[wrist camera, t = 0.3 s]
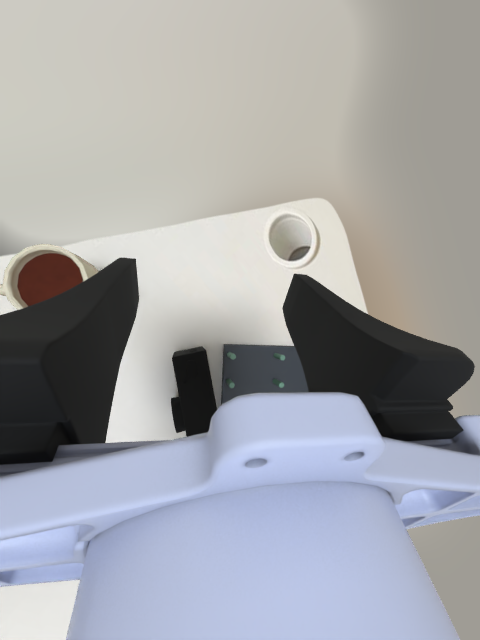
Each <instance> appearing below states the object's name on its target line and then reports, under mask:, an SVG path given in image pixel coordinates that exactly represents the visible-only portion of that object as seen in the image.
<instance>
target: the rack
mask: <svg viewBox="0 0 480 640" xmlns="http://www.w3.org/2000/svg"><path fill="white" fill-rule="evenodd" d="M298 392H309V390H308V386H307V382H306V378H305V374H304V371H303V367H302V364H301V361H300V359H299V356H298V354H297V351H296V348H295V346H266V345H233V344H224V352H223V375H222V397H221V405H222V404H223V403H225V402H227V401H229V400H231V399H233V398H235V397H237V396H241V395H247V394H253V393H298Z"/></svg>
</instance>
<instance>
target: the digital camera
mask: <svg viewBox="0 0 480 640" xmlns="http://www.w3.org/2000/svg"><path fill="white" fill-rule="evenodd" d="M172 361H173V366H174V371H175V377H176V382H177V387H178V393H179V397H175V398H171V406H172V414H173V420H174V425H175V429H176V432H177V433H179V432H182V431H186V436H187V437H188V436H192V435H197V434H202V433H206V432H208V431H209V427H210V422H211V418H212V416H213V415H214V413H215V412H216V411H217V407H216V402H215V397H214V391H213V386H212V380H211V375H210V370H209V364H208V359H207V353H206V350H205V349H204V348H203V347H197V348H192V349H187V350H182V351H177V352H174V355H173V357H172Z"/></svg>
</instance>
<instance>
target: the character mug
mask: <svg viewBox="0 0 480 640" xmlns="http://www.w3.org/2000/svg"><path fill="white" fill-rule="evenodd" d="M96 273H98V270H97V269H96V268H95V267H94V266H93V265H91V264H90V263H88V262H86V261H85V260H84V259H82V258H81V257H79V256H77V255H75V254H73V253H71V252H69V251H67V250H65V249H64V248H62V247H59V246H55V245H49V244H39V245H34V246H31V247H28V248H25V249H24V250H22V251H21V252H19V253H18V254H17V255H15V256H14V257H13V258H12V259H11V261H10V263H9V264H8V266H7V267H6V269H5V272H4V279H3V284H1V285H0V295H3V296H7V299H8V300H9V301H10V302H11V304H12V305H13V306H14V307H15V308H16V309H17V310H20V309H23V308H25V307H28V306H31V305H34V304H36V303H39V302H42V301H45V300H47V299H50V298H52V297H54V296H56V295H59V294H61V293H63V292H65V291H67V290H69V289H71V288H73V287H75V286H76V285H78V284H80V283H82V282H83V281H85V280H87V279H88V278H90V277H92V276H93V275H95V274H96Z"/></svg>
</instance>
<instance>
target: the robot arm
mask: <svg viewBox="0 0 480 640" xmlns="http://www.w3.org/2000/svg"><path fill="white" fill-rule="evenodd" d="M138 302H139V293H138V281H137V269H136V259H130V258H119V259H117V260H116V261H114V262H113V263H111V264H110V265H108V266H107V267H105V268H104V269H102V270H101V271H99V272H98V273H96V274H95V275H93V276H92V277H90V278H88V279H87V280H85V281H83V282H82V283H80V284H78V285H76V286H75V287H73V288H71V289H69V290H67V291H65V292H63V293H61V294H59V295H56V296H54V297H52V298H50V299H47V300H45V301H42V302H39V303H36V304H34V305H31V306H28V307H25V308H23V309H20V310H17V311H13V312H10V313H7V314H3V315H0V587H2V586H13V585H24V584H35V583H46V582H57V581H69V580H80V583H79V587H78V591H77V595H76V600H75V604H74V608H73V612H72V616H71V621H70V625H69V629H68V633H67V637H66V640H460V638H459V636H458V634H457V632H456V630H455V628H454V626H453V624H452V622H451V620H450V618H449V616H448V614H447V612H446V610H445V607H444V605H443V603H442V601H441V599H440V597H439V596H438V593H437V591H436V589H435V587H434V585H433V583H432V581H431V579H430V577H429V575H428V573H427V571H426V569H425V567H424V565H423V563H422V560H421V558H420V556H419V554H418V552H417V550H416V548H415V546H414V544H413V542H412V540H411V538H410V536H409V534H408V532H407V530H406V529H409V528H414V527H419V526H423V525H429V524H434V523H439V522H444V521H449V520H455V519H461V518H466V517H472V516H479V515H480V415H465V416H460V417H457V418H455V419H454V418H453V416H452V415H451V414H450V412H448V411H451V410H452V409H453V406H452V405H451V403H450V402H449V401H448V400H447V399H448V398H449V397H450V396H452V394H454V393H455V392H456V391H457V390H458V389H460V388H461V387H462V386H463V385H464V384H465V383H466V382H467V381H468V380H469V379H470V377H471V376H472V374H473V372H474V363H473V362H472V361H471V360H470V359H469V358H468V357H467V356H466V355H465V354H464V353H463V352H462V351H461V350H459V349H457V348H454V347H451V346H447V345H444V344H440V343H437V342H433V341H430V340H427V339H424V338H421V337H419V336H416V335H413V334H410V333H408V332H405V331H402V330H400V329H397V328H395V327H393V326H391V325H388V324H386V323H384V322H382V321H380V320H377V319H376V318H374V317H372V316H370V315H368V314H366V313H364V312H362V311H361V310H359V309H357V308H356V307H354V306H352V305H351V304H349V303H348V302H346V301H345V300H343V299H342V298H340V297H339V296H337V295H336V294H334V293H333V292H331V291H330V290H329V289H327V288H326V287H324V286H323V285H321V284H320V283H319V282H317V281H316V280H314V279H313V278H311V277H309V276H307V275H302V274H294V276H293V279H292V282H291V284H290V287H289V290H288V293H287V296H286V299H285V302H284V305H283V313H284V318H285V322H286V325H287V328H288V331H289V333H290V336H291V338H292V341H293V343H294V346H295V348H296V351H297V354H298V356H299V359H300V361H301V364H302V367H303V371H304V374H305V378H306V382H307V386H308V390H309V392H298V393H253V394H247V395H241V396H237V397H235V398H233V399H231V400H229V401H227V402H225V403H223V404H222V405H221V406H219V408H218V409H217V411H216V412H215V413H214V415H213V416H212V418H211V422H210V427H209V431H208V432H206V433H202V434H197V435H192V436H188V437H183V438H178V439H174V440H163V441H141V442H119V443H105V441H106V435H107V429H108V423H109V417H110V412H111V406H112V401H113V396H114V391H115V385H116V381H117V376H118V371H119V366H120V363H121V359H122V356H123V353H124V350H125V347H126V344H127V341H128V338H129V336H130V333H131V330H132V327H133V324H134V321H135V318H136V313H137V307H138Z"/></svg>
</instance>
